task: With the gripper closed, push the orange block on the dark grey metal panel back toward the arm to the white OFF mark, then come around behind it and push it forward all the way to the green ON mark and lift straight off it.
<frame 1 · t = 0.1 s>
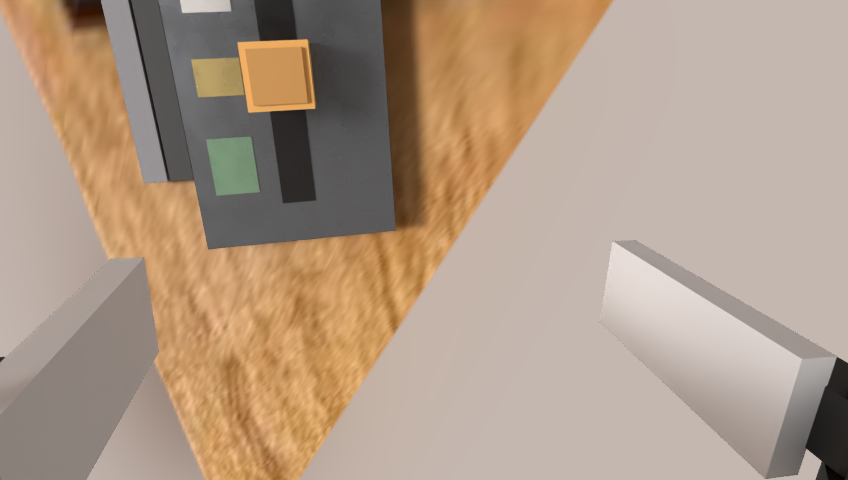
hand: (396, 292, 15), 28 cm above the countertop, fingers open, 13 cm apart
light grey bar: (140, 80, 36), on the countertop
orange block: (279, 75, 33), point 6 cm above the countertop, slide at 0.0 cm
dark grey bar: (167, 79, 36), on the countertop
panel: (285, 73, 38), on the countertop
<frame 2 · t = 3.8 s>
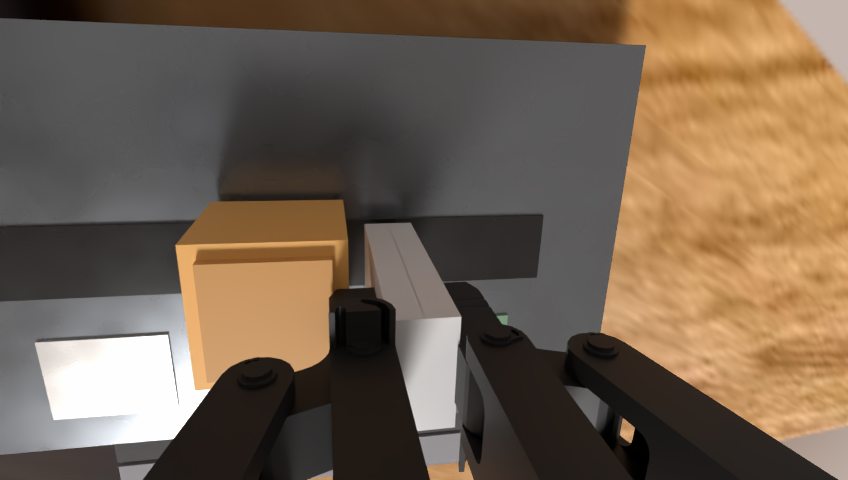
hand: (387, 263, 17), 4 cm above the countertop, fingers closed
light grey bar: (303, 438, 23), on the countertop
orange block: (276, 287, 15), point 6 cm above the countertop, slide at -0.1 cm, touching gripper
dark grey bar: (301, 405, 23), on the countertop
panel: (291, 227, 20), on the countertop
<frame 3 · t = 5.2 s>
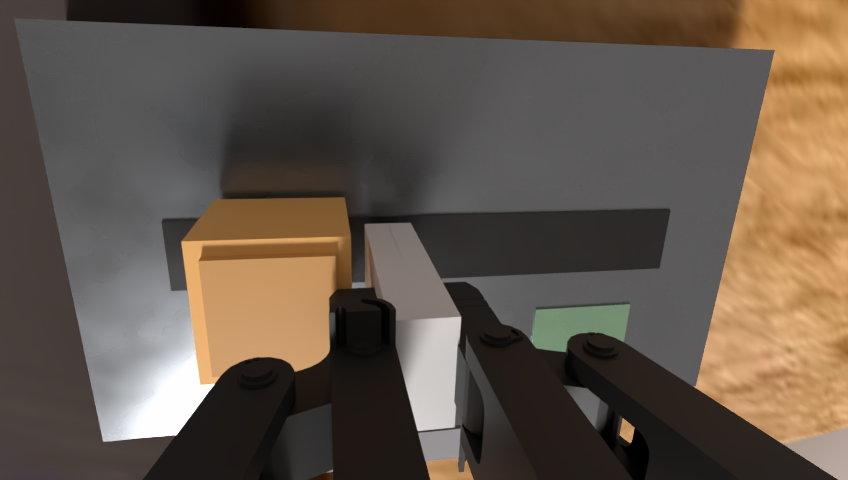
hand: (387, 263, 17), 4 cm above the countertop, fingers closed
light grey bar: (416, 423, 24), on the countertop
orange block: (279, 283, 15), point 6 cm above the countertop, slide at -5.3 cm, touching gripper
panel: (422, 222, 21), on the countertop
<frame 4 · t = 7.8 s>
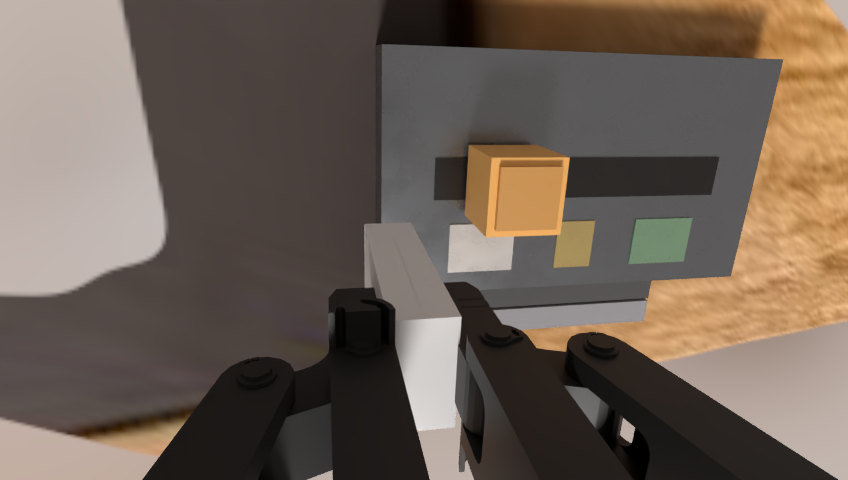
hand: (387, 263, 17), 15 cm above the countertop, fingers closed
light grey bar: (543, 306, 37), on the countertop
orange block: (514, 189, 27), point 6 cm above the countertop, slide at -5.3 cm
dark grey bar: (546, 283, 36), on the countertop
panel: (560, 167, 33), on the countertop
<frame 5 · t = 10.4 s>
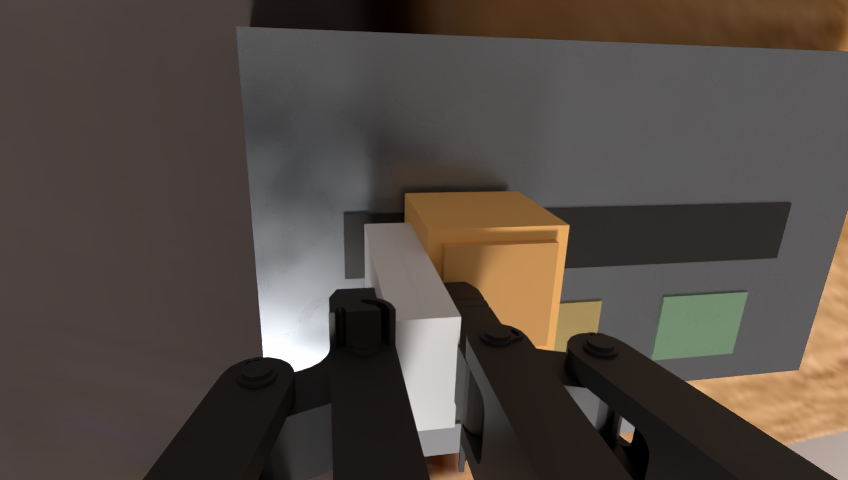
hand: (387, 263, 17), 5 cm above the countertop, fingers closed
light grey bar: (527, 407, 26), on the countertop
orange block: (476, 269, 16), point 6 cm above the countertop, slide at -4.9 cm, touching gripper
panel: (549, 215, 22), on the countertop
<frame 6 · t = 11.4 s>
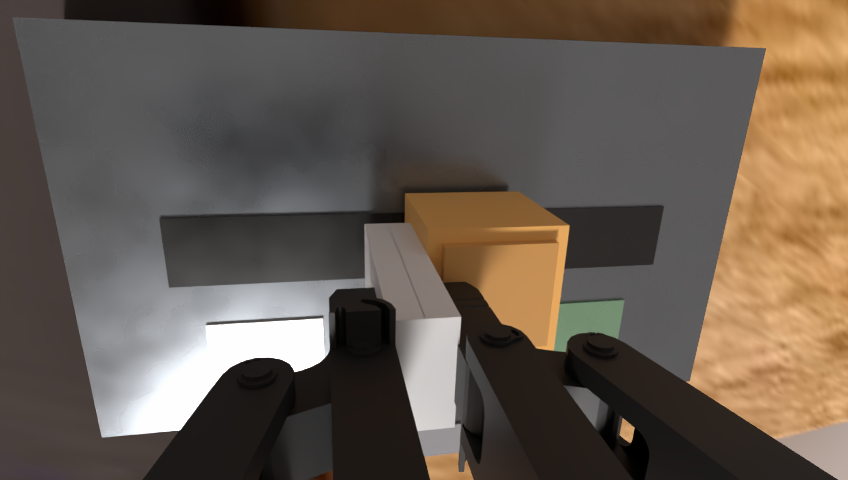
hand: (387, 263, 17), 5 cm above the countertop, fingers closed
light grey bar: (413, 419, 25), on the countertop
orange block: (476, 270, 16), point 6 cm above the countertop, slide at 0.9 cm, touching gripper
panel: (418, 219, 21), on the countertop
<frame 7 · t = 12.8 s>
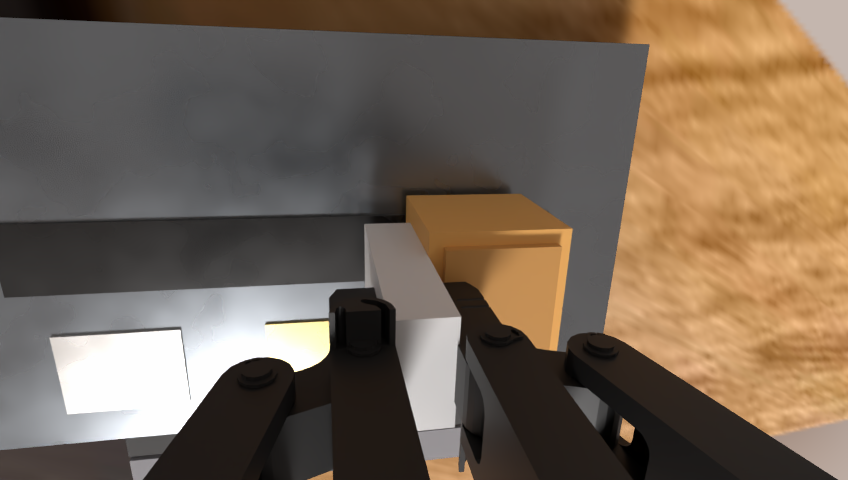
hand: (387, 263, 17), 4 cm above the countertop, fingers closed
light grey bar: (310, 433, 24), on the countertop
orange block: (478, 273, 16), point 6 cm above the countertop, slide at 5.7 cm, touching gripper
dark grey bar: (309, 399, 23), on the countertop
panel: (300, 224, 20), on the countertop
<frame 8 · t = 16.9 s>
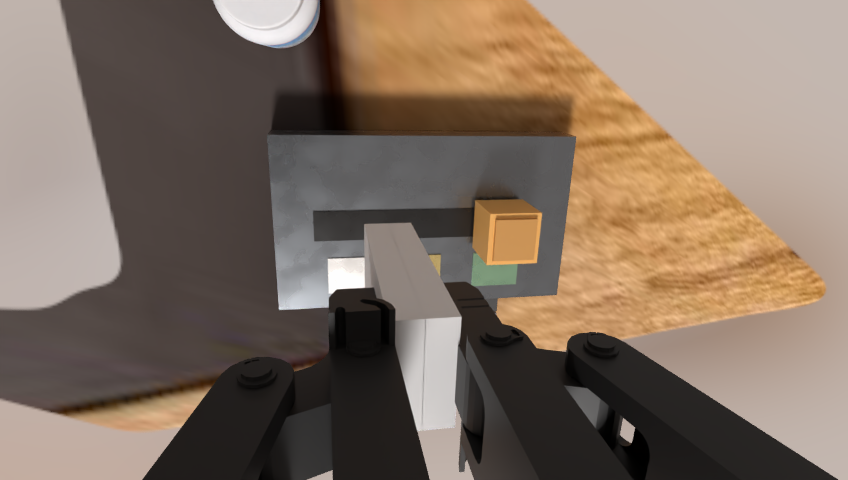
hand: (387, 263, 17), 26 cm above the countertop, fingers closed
orange block: (506, 231, 40), point 6 cm above the countertop, slide at 5.7 cm
pill bottle: (277, 3, 37), on the countertop
panel: (420, 213, 44), on the countertop
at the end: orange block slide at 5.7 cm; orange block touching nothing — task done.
